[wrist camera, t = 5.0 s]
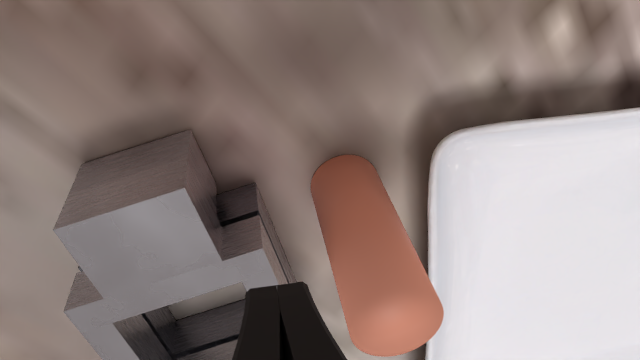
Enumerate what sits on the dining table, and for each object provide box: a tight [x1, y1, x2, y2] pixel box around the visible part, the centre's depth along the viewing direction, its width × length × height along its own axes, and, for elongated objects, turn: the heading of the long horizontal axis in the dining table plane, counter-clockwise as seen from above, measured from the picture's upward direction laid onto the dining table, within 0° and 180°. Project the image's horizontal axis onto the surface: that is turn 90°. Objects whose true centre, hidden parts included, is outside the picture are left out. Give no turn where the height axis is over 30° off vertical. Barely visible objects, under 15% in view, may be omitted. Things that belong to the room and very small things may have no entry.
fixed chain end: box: [78, 183, 297, 360], centre depth 24 cm, size 13×7×3 cm, turn 15°
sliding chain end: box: [53, 129, 288, 360], centre depth 21 cm, size 11×7×4 cm
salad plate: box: [425, 107, 640, 360], centre depth 27 cm, size 21×21×3 cm
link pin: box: [311, 155, 444, 356], centre depth 19 cm, size 3×3×8 cm
